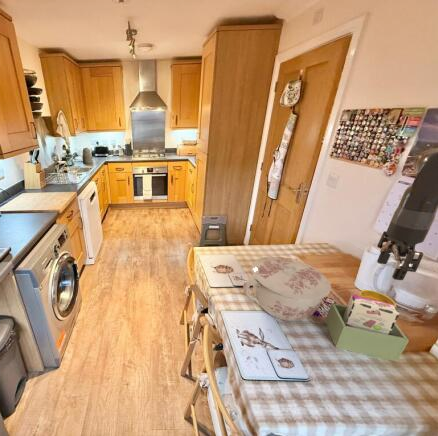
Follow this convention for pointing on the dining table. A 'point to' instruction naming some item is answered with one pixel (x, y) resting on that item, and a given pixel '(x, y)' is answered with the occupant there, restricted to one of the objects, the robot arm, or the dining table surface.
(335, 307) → the bin
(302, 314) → the chamber pot
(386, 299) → the flower pot
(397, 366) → the dining table surface
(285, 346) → the dining table surface
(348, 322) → the candy bar box
